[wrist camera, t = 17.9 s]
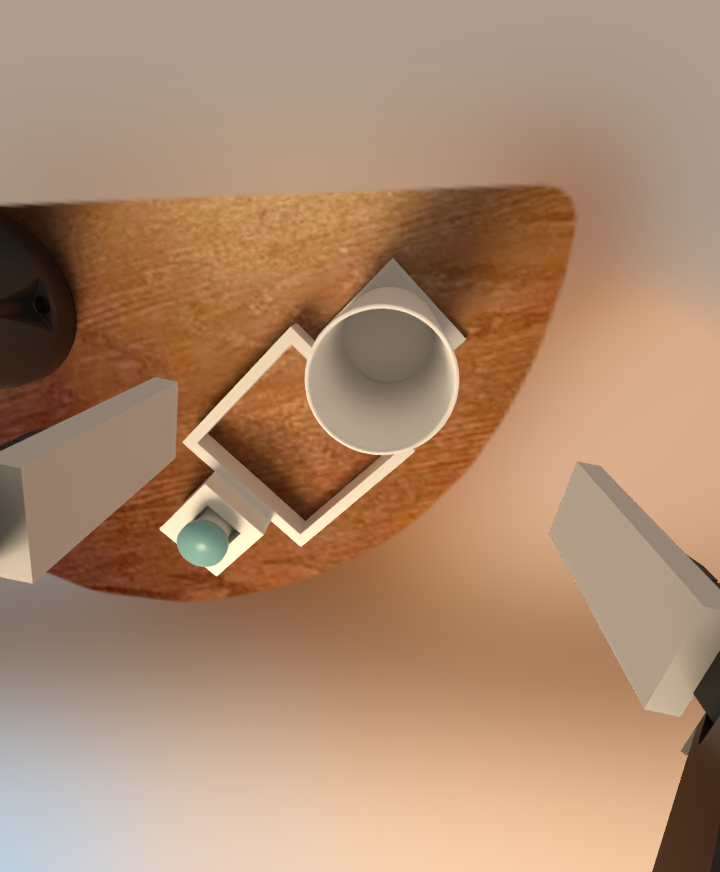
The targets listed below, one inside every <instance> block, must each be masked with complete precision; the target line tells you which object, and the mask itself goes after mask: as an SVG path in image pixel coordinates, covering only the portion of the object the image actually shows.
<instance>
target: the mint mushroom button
mask: <svg viewBox="0 0 720 872" xmlns="http://www.w3.org/2000/svg"><path fill="white" fill-rule="evenodd" d="M233 529H234V527H232V526H231V525H230V524H229V523H228V522H227V521H225V520H224V519H223V518H222V517H221V516H220V515H218V514H217V513H216V512H215V511H214V510H213V509H211V508H210V507H208V508H207V509H206V510H205V512H204V513H203V514H202V516H201V517H200V518H199V519H198V520H193V521H190V522H189V523H187V524H186V525H185V526H184V527H183V528H182V530H181V531H180V532H179V534H178V536H177V547H178V550H179V552H180V553H181V555H182V556H183V557H184V558H185V559H186V560H187V561H189V562H190V563H192V564H194V565H197V566H201V567H210V566H214V565H216V564H218V563H219V562H220V561H221V560H222V559H223V558H224V556H225V554H226V553H227V551H228V548H229V541H228V537H229V535H230V534H231V532H232V531H233Z"/></svg>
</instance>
